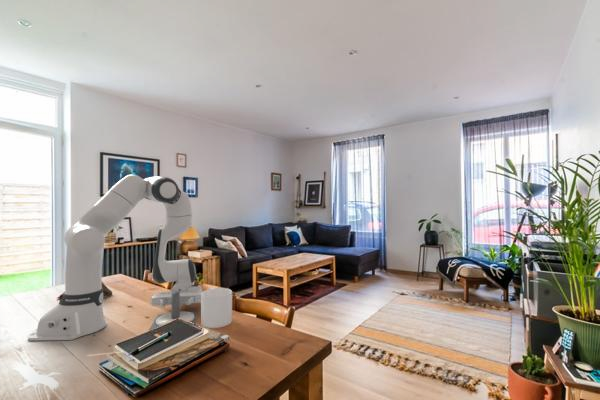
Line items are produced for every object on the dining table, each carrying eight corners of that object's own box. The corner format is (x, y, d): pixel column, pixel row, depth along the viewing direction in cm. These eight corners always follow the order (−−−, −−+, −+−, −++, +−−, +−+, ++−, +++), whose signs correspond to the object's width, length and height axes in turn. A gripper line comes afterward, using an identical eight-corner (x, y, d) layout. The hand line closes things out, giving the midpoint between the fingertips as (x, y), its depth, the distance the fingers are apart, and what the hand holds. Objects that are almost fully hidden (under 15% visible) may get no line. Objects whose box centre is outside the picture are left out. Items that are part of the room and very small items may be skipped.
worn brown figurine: (90, 306, 141) (82, 271, 138) (83, 304, 144) (75, 270, 140) (114, 294, 151) (107, 261, 148) (108, 293, 154) (101, 260, 151)
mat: (148, 331, 108) (148, 330, 108) (158, 315, 124) (158, 314, 124) (194, 327, 112) (194, 326, 112) (198, 312, 128) (198, 311, 128)
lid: (151, 329, 110) (152, 299, 110) (160, 315, 123) (160, 288, 123) (191, 325, 113) (192, 296, 113) (195, 312, 126) (196, 286, 127)
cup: (208, 331, 109) (209, 298, 109) (196, 322, 117) (196, 291, 117) (237, 323, 116) (237, 292, 116) (223, 314, 125) (223, 286, 125)
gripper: (155, 287, 129) (146, 297, 115) (204, 285, 134) (201, 294, 120) (155, 302, 129) (146, 314, 115) (204, 299, 134) (201, 310, 120)
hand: (175, 304), depth 118 cm, fingers open, 8 cm apart
